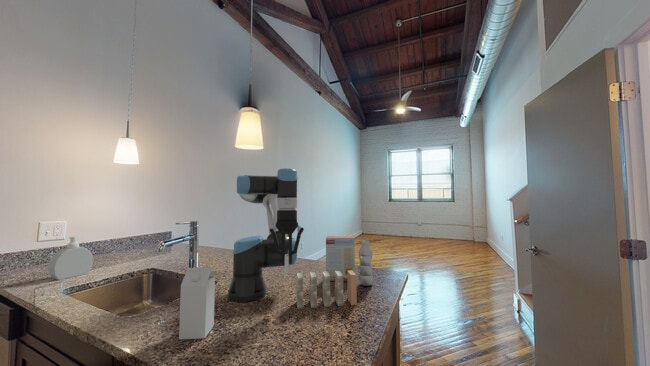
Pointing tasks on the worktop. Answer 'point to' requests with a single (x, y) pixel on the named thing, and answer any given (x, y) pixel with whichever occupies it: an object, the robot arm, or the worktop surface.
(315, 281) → the domino
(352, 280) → the domino end
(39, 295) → the worktop surface
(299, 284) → the domino
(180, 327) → the milk carton
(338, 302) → the domino
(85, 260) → the soap bottle
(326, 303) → the domino
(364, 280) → the plastic bottle
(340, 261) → the cracker box
